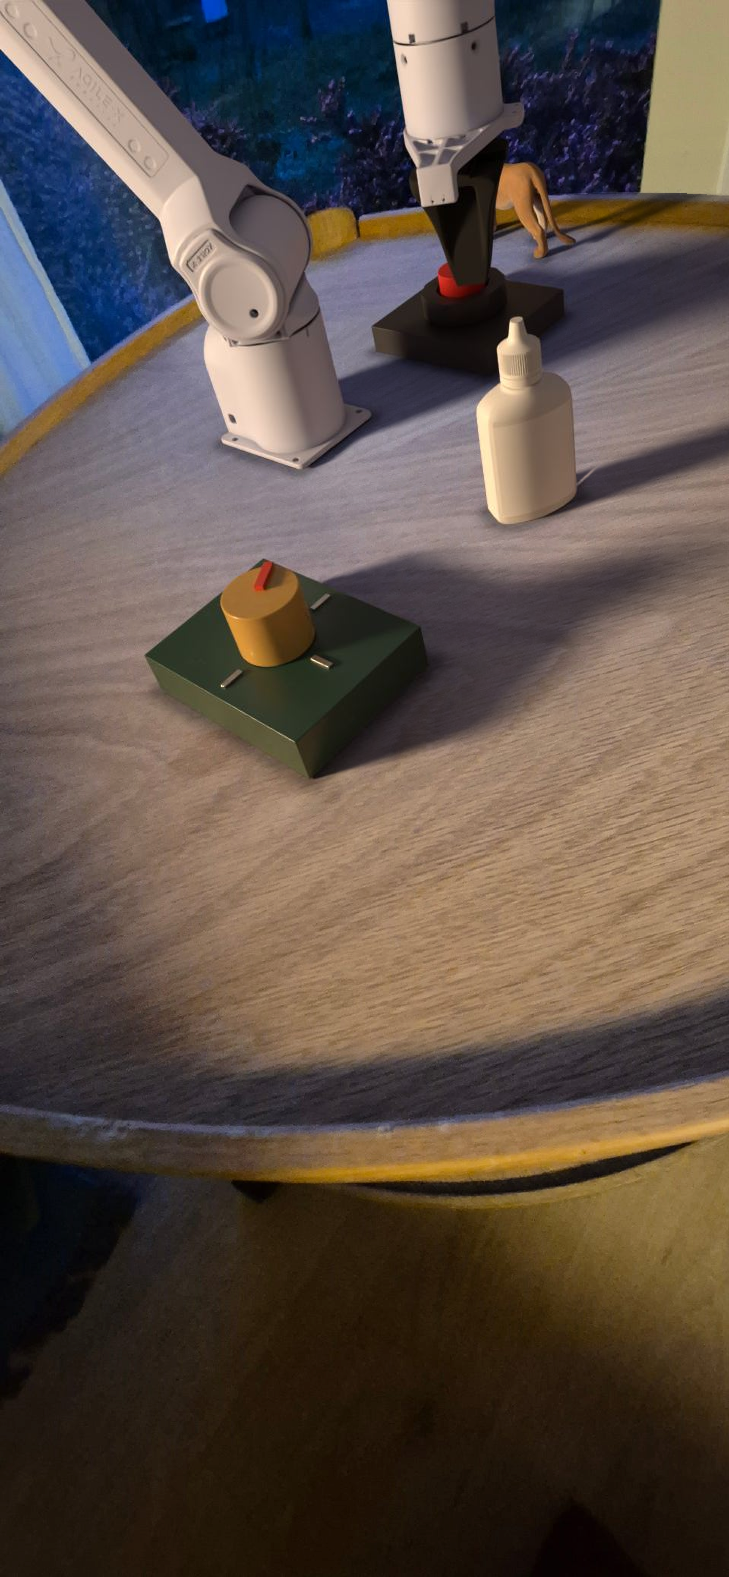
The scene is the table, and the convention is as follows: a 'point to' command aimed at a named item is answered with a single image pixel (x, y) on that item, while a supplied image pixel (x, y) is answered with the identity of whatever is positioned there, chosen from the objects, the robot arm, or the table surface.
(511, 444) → the eye dropper bottle
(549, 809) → the table surface
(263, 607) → the dial knob
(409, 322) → the button box
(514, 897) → the table surface
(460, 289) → the red button
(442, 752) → the table surface
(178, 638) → the control panel
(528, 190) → the lion figurine
